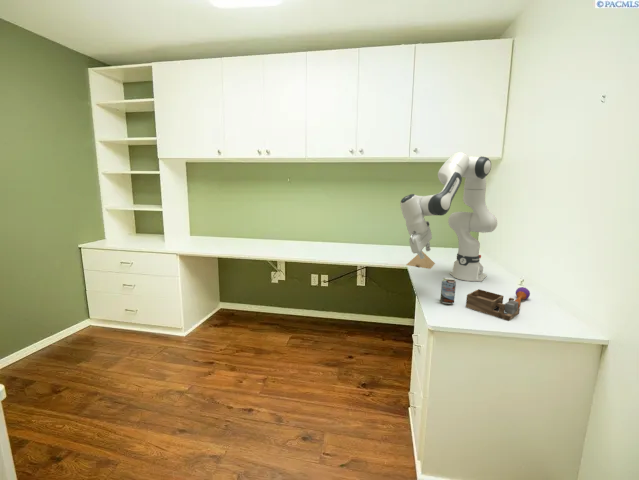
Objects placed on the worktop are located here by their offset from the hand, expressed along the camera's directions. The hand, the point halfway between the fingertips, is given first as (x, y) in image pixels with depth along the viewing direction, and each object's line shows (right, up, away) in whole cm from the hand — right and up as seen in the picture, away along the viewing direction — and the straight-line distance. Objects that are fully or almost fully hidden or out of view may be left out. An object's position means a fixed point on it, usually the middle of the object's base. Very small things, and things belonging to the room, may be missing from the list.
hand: (425, 254), depth 154 cm
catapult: (+25, -24, -12) cm, 37 cm away
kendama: (+44, -23, -2) cm, 50 cm away
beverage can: (+8, -23, -5) cm, 25 cm away
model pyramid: (+18, -10, +63) cm, 66 cm away
